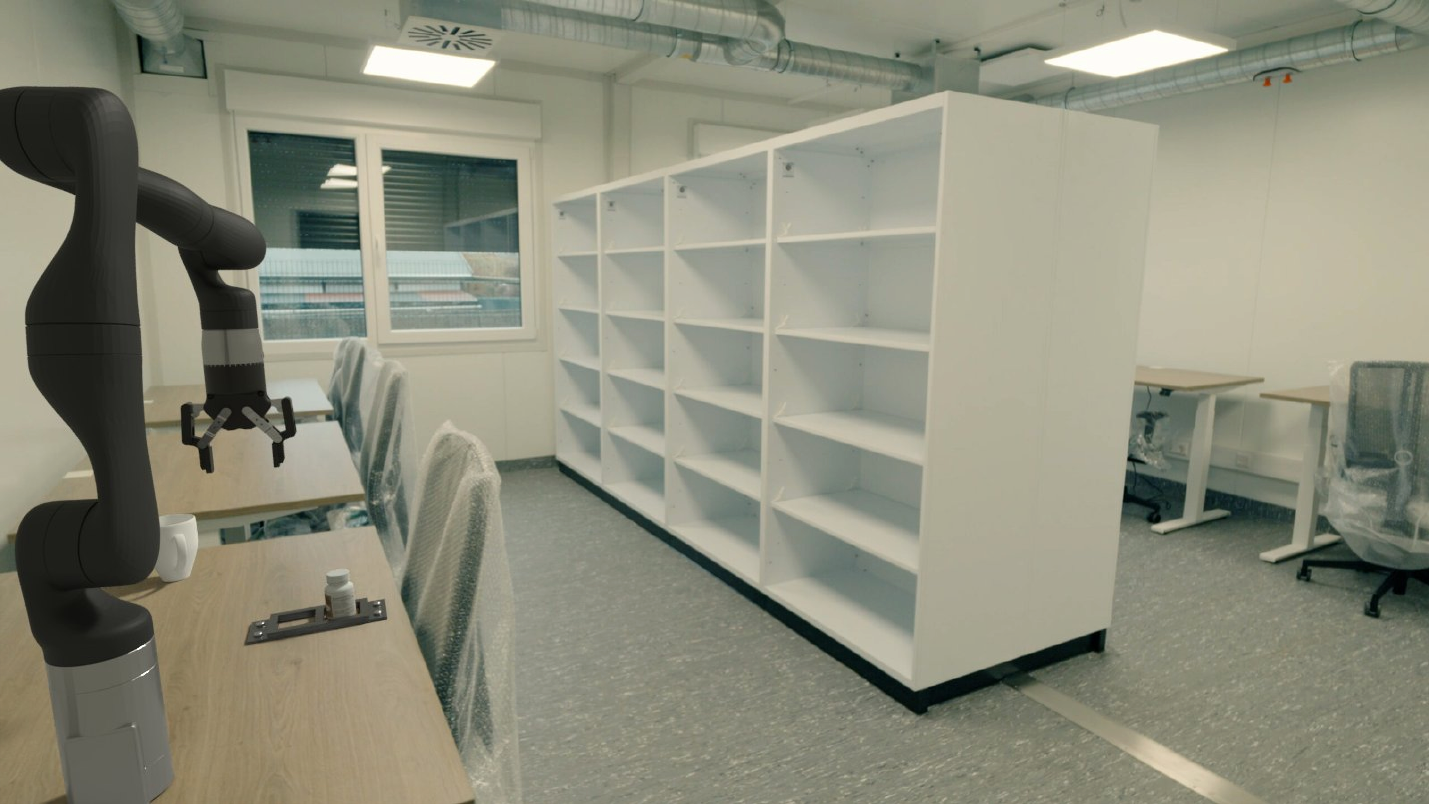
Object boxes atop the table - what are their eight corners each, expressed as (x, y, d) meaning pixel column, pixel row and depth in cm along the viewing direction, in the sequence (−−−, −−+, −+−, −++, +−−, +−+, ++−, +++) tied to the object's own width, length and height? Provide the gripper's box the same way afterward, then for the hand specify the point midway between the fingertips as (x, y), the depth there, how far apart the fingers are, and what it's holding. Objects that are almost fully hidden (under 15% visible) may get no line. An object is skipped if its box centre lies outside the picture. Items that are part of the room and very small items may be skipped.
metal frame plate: (387, 618, 127) (386, 612, 127) (247, 644, 118) (246, 637, 118) (384, 601, 134) (384, 594, 134) (252, 624, 125) (251, 617, 125)
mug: (144, 578, 145) (136, 520, 143) (196, 566, 151) (189, 510, 149) (159, 595, 137) (151, 534, 135) (213, 582, 143) (206, 523, 141)
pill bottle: (327, 614, 128) (323, 570, 127) (356, 609, 130) (352, 565, 129) (326, 624, 124) (322, 579, 123) (356, 619, 126) (352, 574, 125)
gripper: (168, 364, 105) (181, 480, 107) (287, 359, 111) (297, 469, 113) (180, 361, 112) (192, 469, 114) (291, 356, 118) (300, 460, 120)
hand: (244, 469), depth 113 cm, fingers open, 8 cm apart
